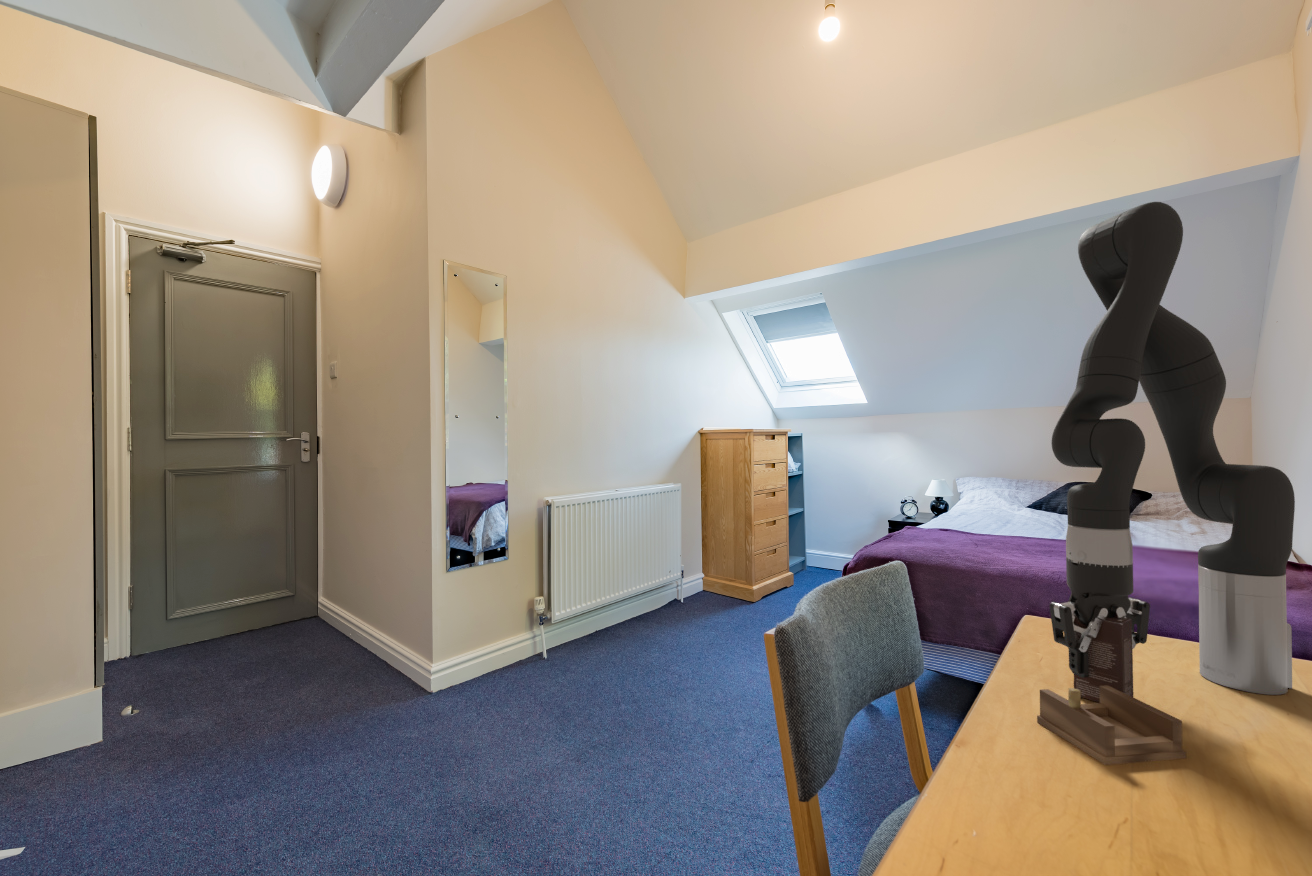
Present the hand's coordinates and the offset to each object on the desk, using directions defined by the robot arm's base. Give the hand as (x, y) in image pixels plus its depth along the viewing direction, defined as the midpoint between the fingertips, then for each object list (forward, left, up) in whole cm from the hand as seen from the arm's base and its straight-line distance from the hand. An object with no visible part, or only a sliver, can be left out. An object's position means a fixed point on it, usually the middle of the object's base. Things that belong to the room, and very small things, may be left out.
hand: (1100, 673), depth 79 cm
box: (0, 0, -4) cm, 4 cm away
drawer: (+9, +10, -4) cm, 14 cm away
